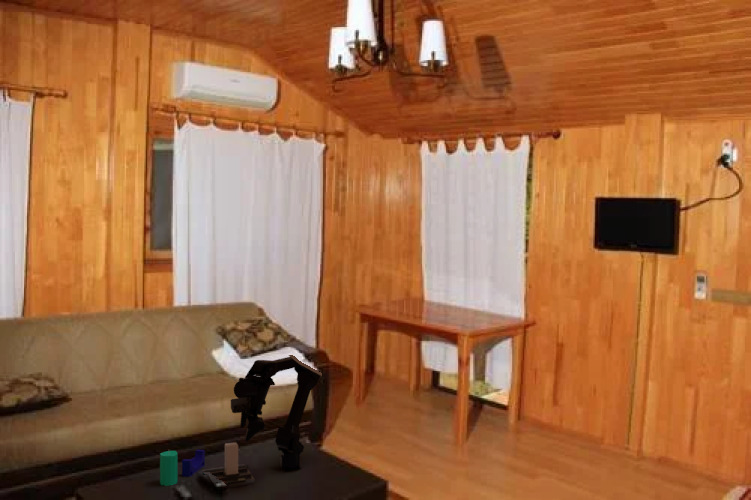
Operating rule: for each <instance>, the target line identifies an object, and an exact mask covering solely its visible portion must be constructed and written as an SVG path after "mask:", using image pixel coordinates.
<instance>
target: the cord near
mask: <svg viewBox="0 0 751 500" xmlns="http://www.w3.org/2000/svg"><path fill="white" fill-rule="evenodd" d="M248 484H249V483H248V482H240V483H234V484H229V486H228V488H236V487H238V488H239V487H243V486H248Z"/></svg>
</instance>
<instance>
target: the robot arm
mask: <svg viewBox="0 0 751 500" xmlns="http://www.w3.org/2000/svg"><path fill="white" fill-rule="evenodd" d="M291 369H293V370H294V371H295V372H296V374H297V377H296V381H297V382H296V383H297V390H296V393H295V394H294V395H295V396H294V398H293V402H292V404H291V407H290V410H289V414H288V416H287V419H286V422H285V424H284V425H283V426H281V425H280V426H279V427H278V429H277V433H276V435H275V436H274V437H275V444H276V446H277V450H278V452H279V451H280V452H281V454H280V456H279V466H280V468H281V469H282V470H283V471H284V472H288V471H295V470H301V469H302V467H301V466H300V465H301V464H300V463H301V460H300V459H301V458H300V457H301V454H302V453H303V452H304V450H305V445H304V444H302V443H301V442H300V437H301V433H300V429H299V428H300V423H301V422H302V418H303V416H304V412H305V409H306V406H307V402H308V400H309V396H310V393H311V391H312V389H314V388H315V387H316V386H317V385H318V382H319V380H320V378H321V374H320V373H318V372H316V371H314V370H312V369H310V368H309V367H307V366H305V365H303V364H301V363H300V362H298V361H297V360H296V359H295V358H294V357H292V356H287V357H283V358H277V359H274V360H270V359H269V360H268V359H256V360H255V361H254V362H253V364H252V365H251V367H250V369H249V370H248V372H247V373H246V375H245V376H244V377H239V378H238V381H236V383H235V384H234V387H233V393H234V395H235V397H236V398H232V399H230V410H231V413H232V414H240V424H239V427H240V428H241V429H244V428H245V427H246V433H245V438H244V441H245V442H249V441H250V440H251V439H252V438H253V437H254V436H255V435H257V434H258V433H259V432H260V431H264V430H265V428H266V423H265V420H264V418H263V417H260V416H262V414H263V411H262V409H263V407H264V405H265V406H266V404H267V401H266V399H267V396H268V393H269V390H270V387H271V386H272V387H273V386H276V383H275V381H274V378H272V377H274V376H276V375H277V373H279V372H282V371H287V370H291ZM258 415H259V416H258Z"/></svg>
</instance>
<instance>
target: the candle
mask: <svg viewBox="0 0 751 500" xmlns="http://www.w3.org/2000/svg"><path fill="white" fill-rule="evenodd" d="M178 459H179V458H178V452H177V451H176V450H168V451H167V450H166V451H163V452H161V453H159V484H160V485H161V486H163V485H164V486H165V487H170V485H171V486H173V485H174V484H175V485H176V484H178V475H179V474H178V473H179V471H178V469H179V468H178V462H179V461H178Z"/></svg>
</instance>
